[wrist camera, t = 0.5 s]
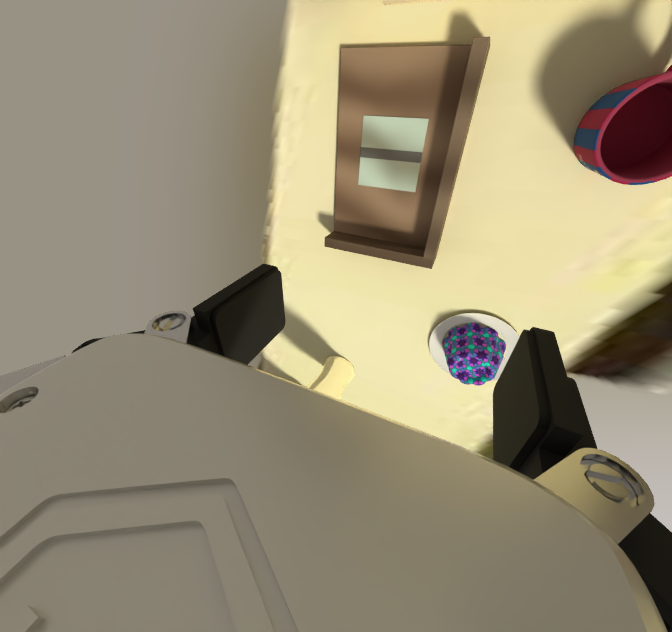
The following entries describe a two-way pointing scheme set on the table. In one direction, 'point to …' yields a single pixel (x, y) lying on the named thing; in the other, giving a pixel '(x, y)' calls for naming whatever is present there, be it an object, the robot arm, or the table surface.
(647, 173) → the mug
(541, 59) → the table surface
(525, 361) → the robot arm
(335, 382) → the beer glass
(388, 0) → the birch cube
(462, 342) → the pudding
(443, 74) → the wooden tray
